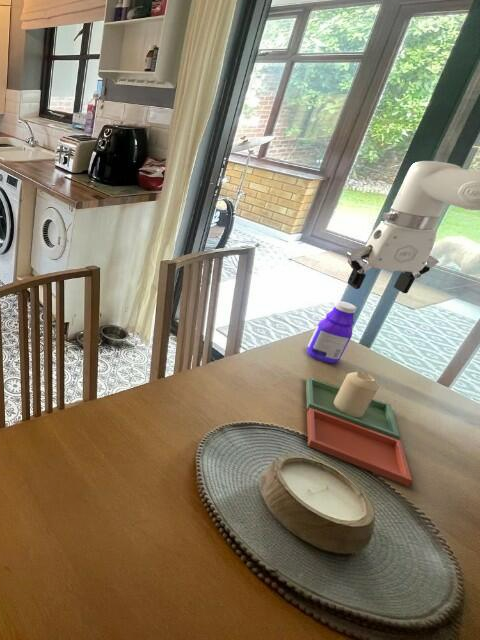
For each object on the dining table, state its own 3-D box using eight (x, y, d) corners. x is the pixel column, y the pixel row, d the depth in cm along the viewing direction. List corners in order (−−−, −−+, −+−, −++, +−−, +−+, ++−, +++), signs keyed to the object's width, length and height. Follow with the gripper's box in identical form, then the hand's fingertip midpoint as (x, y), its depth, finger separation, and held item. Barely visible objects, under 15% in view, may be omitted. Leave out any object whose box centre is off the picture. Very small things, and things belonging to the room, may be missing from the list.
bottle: (336, 356, 116) (361, 304, 108) (339, 367, 111) (366, 313, 104) (304, 347, 119) (327, 296, 112) (306, 358, 115) (330, 305, 107)
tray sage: (386, 410, 97) (390, 404, 97) (395, 443, 89) (399, 436, 88) (305, 382, 106) (308, 376, 105) (306, 410, 97) (309, 403, 96)
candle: (327, 403, 99) (343, 370, 94) (343, 398, 100) (360, 366, 96) (352, 420, 94) (371, 386, 90) (368, 414, 95) (387, 381, 91)
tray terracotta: (396, 447, 88) (401, 440, 87) (407, 487, 79) (412, 480, 78) (306, 413, 96) (309, 407, 95) (307, 447, 88) (311, 440, 87)
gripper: (377, 222, 87) (345, 292, 94) (473, 229, 84) (432, 300, 91) (354, 211, 93) (325, 277, 101) (442, 217, 91) (406, 284, 98)
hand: (376, 288), depth 96 cm, fingers open, 9 cm apart
